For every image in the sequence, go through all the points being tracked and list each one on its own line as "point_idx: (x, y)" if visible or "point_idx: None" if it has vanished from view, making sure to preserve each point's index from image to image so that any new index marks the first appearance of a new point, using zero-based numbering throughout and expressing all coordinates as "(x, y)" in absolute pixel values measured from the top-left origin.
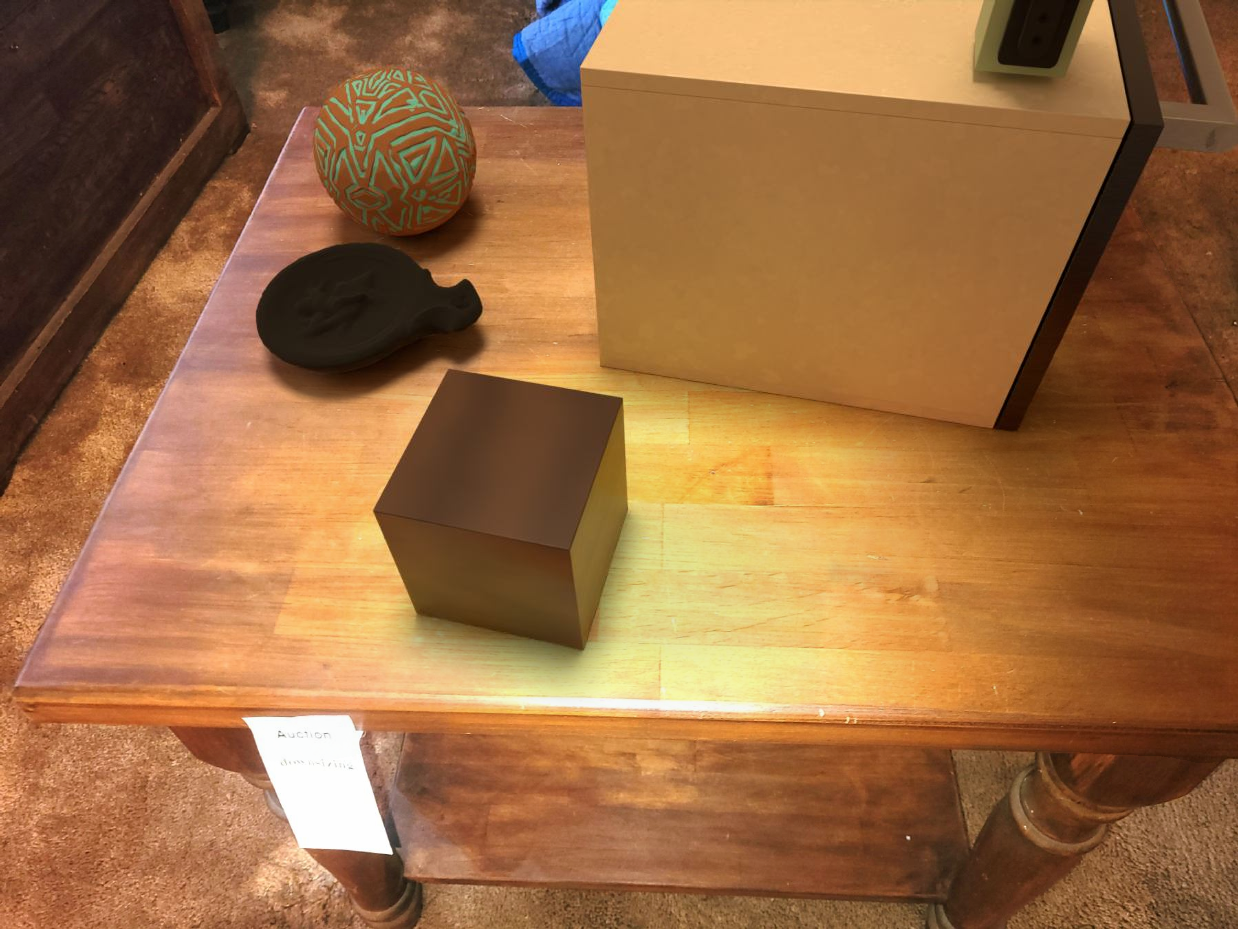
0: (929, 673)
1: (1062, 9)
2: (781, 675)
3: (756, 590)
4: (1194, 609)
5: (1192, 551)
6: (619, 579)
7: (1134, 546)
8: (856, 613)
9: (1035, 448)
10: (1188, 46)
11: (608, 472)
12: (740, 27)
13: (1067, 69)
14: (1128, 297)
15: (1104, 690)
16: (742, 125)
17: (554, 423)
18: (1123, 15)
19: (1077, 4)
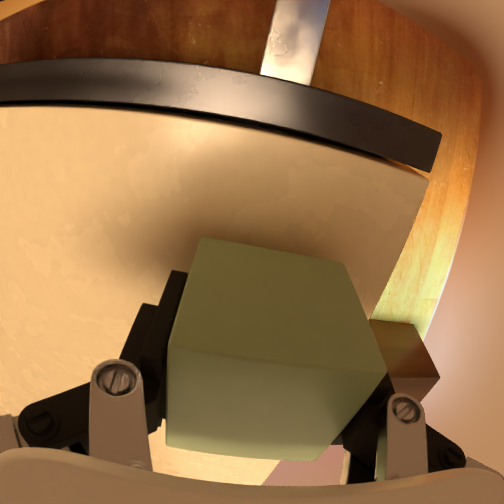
0: (455, 195)
1: (394, 391)
2: (442, 256)
3: (405, 264)
4: (438, 54)
5: (406, 34)
6: (387, 316)
7: (403, 63)
8: (425, 221)
9: (329, 90)
10: None
11: (392, 363)
12: (183, 460)
13: (346, 270)
14: None
15: (471, 120)
16: None
17: None
18: (65, 83)
19: (386, 374)
